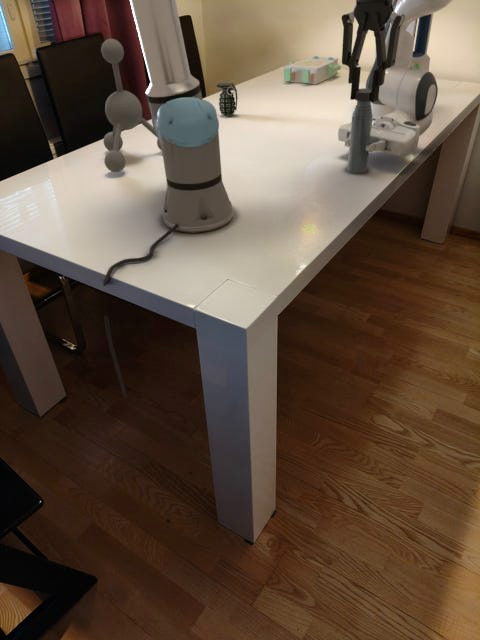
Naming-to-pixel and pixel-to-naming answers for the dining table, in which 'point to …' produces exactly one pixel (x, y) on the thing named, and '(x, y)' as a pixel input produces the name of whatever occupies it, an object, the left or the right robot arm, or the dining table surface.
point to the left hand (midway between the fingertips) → (364, 99)
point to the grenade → (227, 99)
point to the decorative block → (311, 70)
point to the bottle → (360, 137)
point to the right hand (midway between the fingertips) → (357, 146)
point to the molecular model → (120, 110)
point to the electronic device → (421, 42)
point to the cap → (363, 94)
